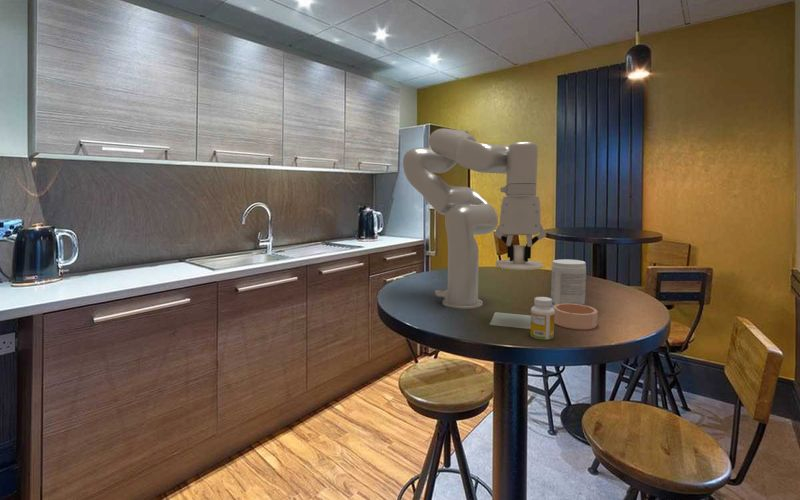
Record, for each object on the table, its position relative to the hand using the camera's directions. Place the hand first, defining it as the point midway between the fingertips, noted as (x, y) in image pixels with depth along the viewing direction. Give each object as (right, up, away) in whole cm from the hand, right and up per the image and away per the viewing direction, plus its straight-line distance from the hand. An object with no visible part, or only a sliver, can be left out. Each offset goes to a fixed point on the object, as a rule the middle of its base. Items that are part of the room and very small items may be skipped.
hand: (518, 260), depth 104 cm
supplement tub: (+19, -15, +15) cm, 29 cm away
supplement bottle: (+3, -19, -9) cm, 21 cm away
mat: (0, -17, +2) cm, 17 cm away
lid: (0, -2, 0) cm, 2 cm away
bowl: (+15, -17, 0) cm, 23 cm away
